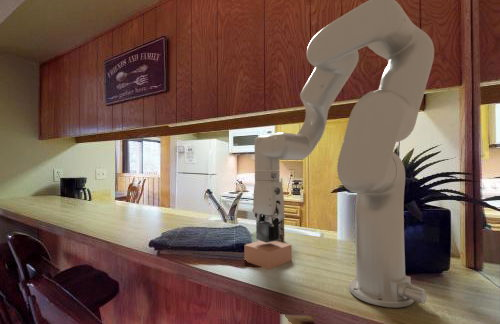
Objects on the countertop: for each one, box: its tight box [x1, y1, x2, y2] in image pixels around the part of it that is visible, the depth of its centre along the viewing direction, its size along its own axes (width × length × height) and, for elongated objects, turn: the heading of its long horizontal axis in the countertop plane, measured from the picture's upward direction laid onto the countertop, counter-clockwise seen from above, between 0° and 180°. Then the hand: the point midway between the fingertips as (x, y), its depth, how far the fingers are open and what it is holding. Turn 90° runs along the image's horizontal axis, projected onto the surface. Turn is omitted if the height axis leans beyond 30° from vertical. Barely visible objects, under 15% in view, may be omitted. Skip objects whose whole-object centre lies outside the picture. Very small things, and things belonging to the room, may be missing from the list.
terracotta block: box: [243, 240, 293, 270], centre depth 80 cm, size 10×10×5 cm
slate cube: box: [255, 221, 280, 243], centre depth 80 cm, size 5×5×5 cm
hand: (267, 237), depth 80 cm, fingers closed on slate cube, 5 cm apart
